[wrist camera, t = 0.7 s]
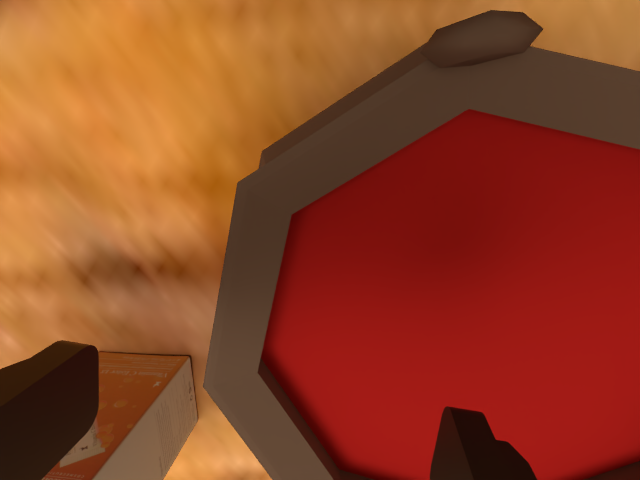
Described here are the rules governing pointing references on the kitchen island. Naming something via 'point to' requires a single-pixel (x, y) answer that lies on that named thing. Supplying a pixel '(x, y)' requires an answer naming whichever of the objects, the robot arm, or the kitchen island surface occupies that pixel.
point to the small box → (134, 420)
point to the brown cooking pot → (442, 267)
